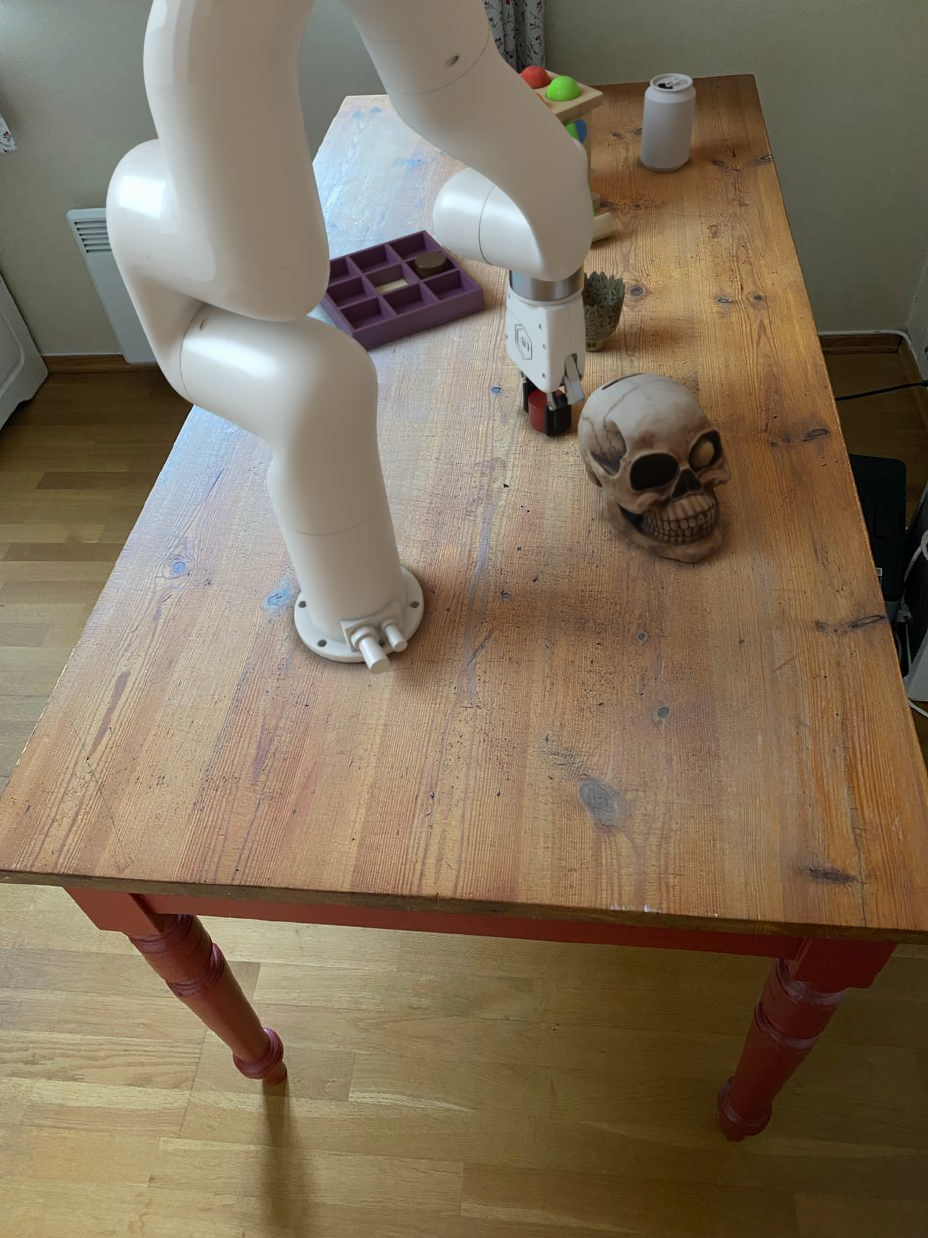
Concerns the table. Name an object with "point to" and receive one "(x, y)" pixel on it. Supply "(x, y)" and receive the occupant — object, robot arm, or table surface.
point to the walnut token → (430, 264)
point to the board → (396, 291)
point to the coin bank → (655, 464)
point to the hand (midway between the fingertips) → (547, 418)
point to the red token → (538, 408)
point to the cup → (601, 308)
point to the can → (667, 122)
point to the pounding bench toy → (572, 122)
